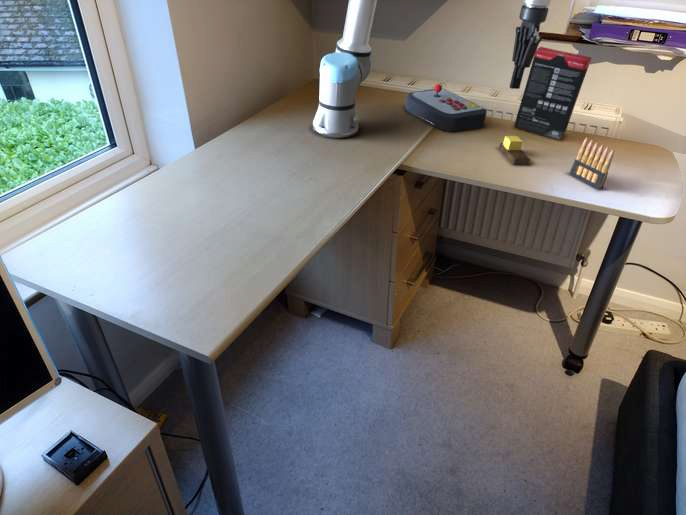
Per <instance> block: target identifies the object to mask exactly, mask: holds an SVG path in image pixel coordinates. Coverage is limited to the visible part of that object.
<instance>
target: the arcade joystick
mask: <svg viewBox="0 0 686 515" xmlns="http://www.w3.org/2000/svg"><path fill="white" fill-rule="evenodd" d="M404 109H405V110H406V111H407V112H408V113H410V114H411V115H413V116H415V117H417V118H418V119H420V120H422V121H424V122H425V123H427V124H429V125H430V126H432V127H433V128H436V129H439V130H443V131H447V132H459V131H460V132H461V131H467V130H472V129H479V128H483V127H484V125H485V121H486V116H487V112H488V110H487V109H486V108H485V107H483V106H481V105H478V104H476V103H474V102H472V101H470V100H468V99H466V98H464V97H462V96H460V95H458V94H456V93H454V92H451V91H450V90H447V89H445V88H443V86H442V85H441V84H440V83H439V84H435V85H434V87H433V88H431V89H430V88H429V89H424V90H418V91H417V90H416V91H411V92H408V93H407V95H406V100H405V108H404ZM419 116H420V117H419ZM421 117H422V118H421ZM423 118H424V119H423ZM425 119H426V120H428V121H430V122H432V123H433V124H434V125H433V124H431V123H430V122H428V121H426V120H425Z"/></svg>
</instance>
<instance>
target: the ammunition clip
mask: <svg viewBox="0 0 686 515" xmlns="http://www.w3.org/2000/svg"><path fill="white" fill-rule="evenodd" d="M588 141H589V137H586V138H585V139H584V141H582V144H581V146H580V148H579V150H578V153H577V156H576V158H575V159H574V161H573V163H572V166H571V168H570V171H569V173H568V175H569V176H571V177H573V178H575V179H577V180H579V181H581V182H583V183H585V184H587V185H588V186H590V187H591V188H594V189H596V190H597V191H598V190H603V188H604V186H605V183H606V181H607V178H608V175H609V170H610V167H611V165H612V161H613V157H614V154H615V150H614V149H611V151H610V153H609V150H610V148H609V146H607V147H606V148H605V149H604V144H601V145H600V147H599V142H596V143H595V144H594V141H593V139H591V140H590V142H589V143H588ZM593 145H594V146H593ZM603 150H604V151H603Z"/></svg>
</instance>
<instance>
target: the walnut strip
mask: <svg viewBox="0 0 686 515" xmlns="http://www.w3.org/2000/svg"><path fill="white" fill-rule="evenodd" d="M503 143H504V142H500V143H499V145H498V150H499V151H500V152H501V153H502V155H504V157H505V158H506V159H507V160H508V161H509V162H510V163H511V164H512V165H513V166H529V165H530V161H531V158H530V157H529V156H528V155H527V154H526V153H525V152H524V151H523V150H522V149H521V150H507V148H506V147H505V146H504V145H503Z"/></svg>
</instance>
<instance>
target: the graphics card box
mask: <svg viewBox="0 0 686 515" xmlns="http://www.w3.org/2000/svg"><path fill="white" fill-rule="evenodd" d="M591 60H592V57H591V56H586V55H582V54H577V53H573V52H568V51H564V50H557V49H553V48H550V47H549V48H548V47H544V46H538V47H537V50H536V52H535V55H534V57H533V60H532V62H531V65H530V70H529V73H528V77H527V79H526V84H525V88H524V90H523V94H522V98H521V100H520V104H519V107H518V110H517V114H516V118H515V122H514V125H513V127H514V128H517V129H519V130H523V131H527V132H530V133H535V134H537V135H541V136H543V137H544V136H545V137H548V138H552V139H555V140H559V141H560V140H562V138H563V137H564V136H565V135H566V132H567V129H568V127H569V123H570V121H571V117H572V115H573V113H574V110H575V106H576V104H577V101H578V98H579V95H580V92H581V89H582V86H583V83H584V80H585V78H586V75H587V72H588V69H589V67H590V64H591Z"/></svg>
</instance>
